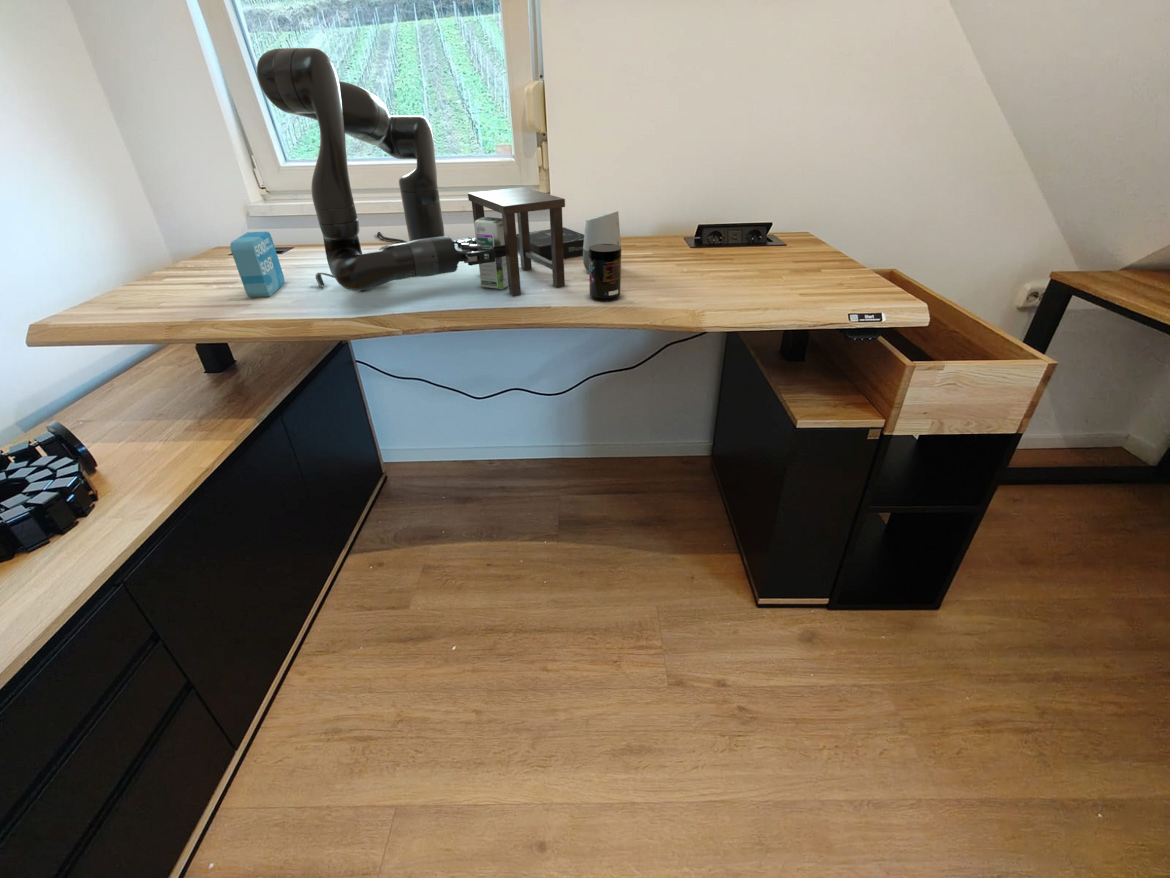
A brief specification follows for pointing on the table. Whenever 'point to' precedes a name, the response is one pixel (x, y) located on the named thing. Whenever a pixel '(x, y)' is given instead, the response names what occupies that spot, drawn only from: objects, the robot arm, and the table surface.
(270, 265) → the data package
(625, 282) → the table surface
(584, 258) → the smart speaker
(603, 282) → the supplement container
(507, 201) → the side table
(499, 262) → the syrup box
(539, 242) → the black flat box
